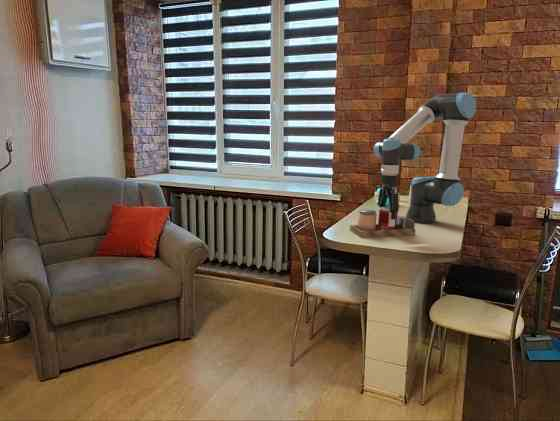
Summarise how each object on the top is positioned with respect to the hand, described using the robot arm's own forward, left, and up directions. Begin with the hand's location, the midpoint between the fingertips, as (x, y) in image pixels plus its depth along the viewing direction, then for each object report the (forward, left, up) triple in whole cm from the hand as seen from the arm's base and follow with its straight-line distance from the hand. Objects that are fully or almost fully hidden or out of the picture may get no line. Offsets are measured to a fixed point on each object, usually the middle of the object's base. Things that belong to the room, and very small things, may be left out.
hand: (386, 223), depth 196 cm
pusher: (-7, 0, -4) cm, 8 cm away
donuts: (-34, -74, -5) cm, 82 cm away
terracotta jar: (+10, 0, -4) cm, 10 cm away
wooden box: (+2, 0, -5) cm, 5 cm away
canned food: (0, 0, -4) cm, 4 cm away
